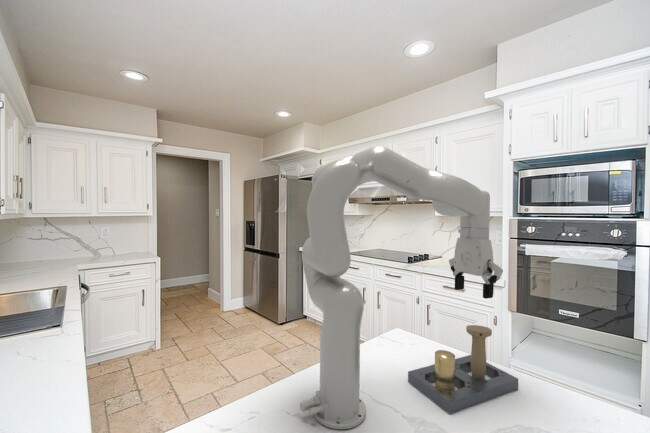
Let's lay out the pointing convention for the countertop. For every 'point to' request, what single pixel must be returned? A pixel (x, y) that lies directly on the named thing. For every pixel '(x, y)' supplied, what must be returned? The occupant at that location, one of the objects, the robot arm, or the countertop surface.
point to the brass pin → (445, 370)
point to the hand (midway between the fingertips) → (472, 293)
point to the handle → (478, 349)
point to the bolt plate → (463, 385)
